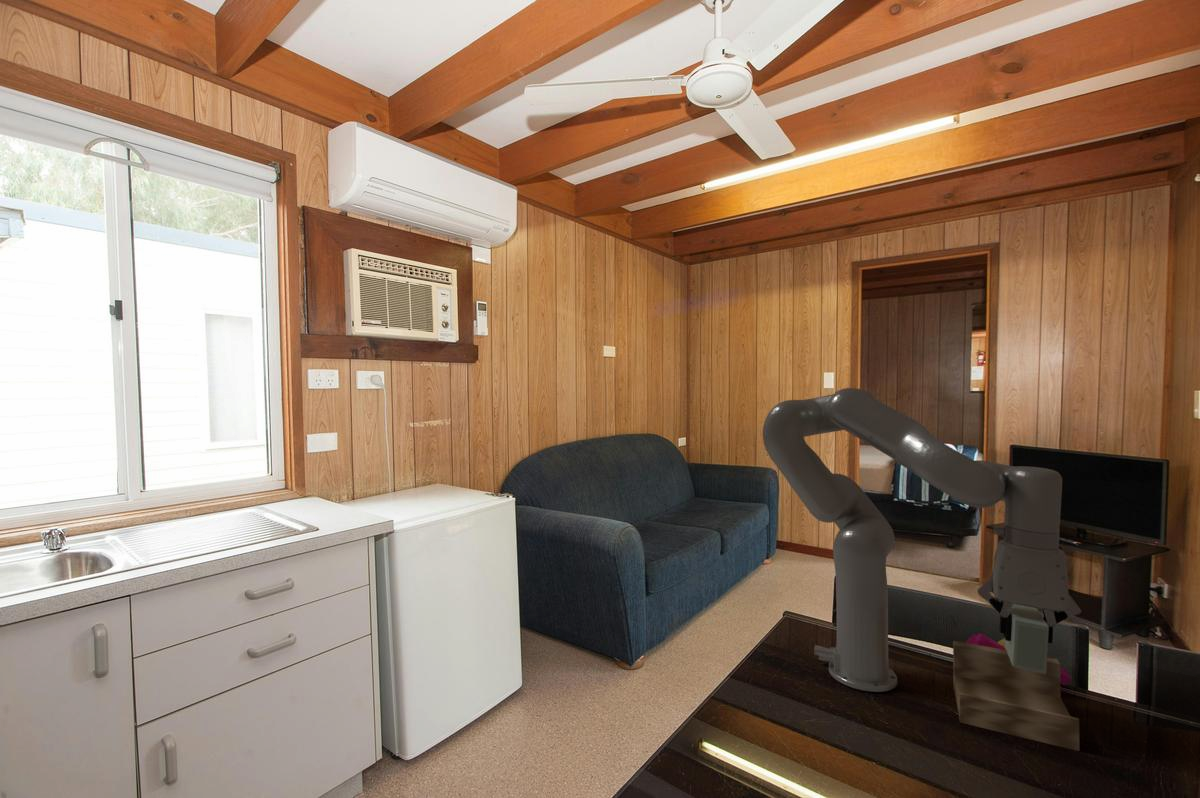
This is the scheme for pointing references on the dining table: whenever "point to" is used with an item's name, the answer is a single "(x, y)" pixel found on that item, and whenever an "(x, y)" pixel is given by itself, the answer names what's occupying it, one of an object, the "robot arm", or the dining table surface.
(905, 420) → the robot arm
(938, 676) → the dining table surface
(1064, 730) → the wall board
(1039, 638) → the cabinet block
